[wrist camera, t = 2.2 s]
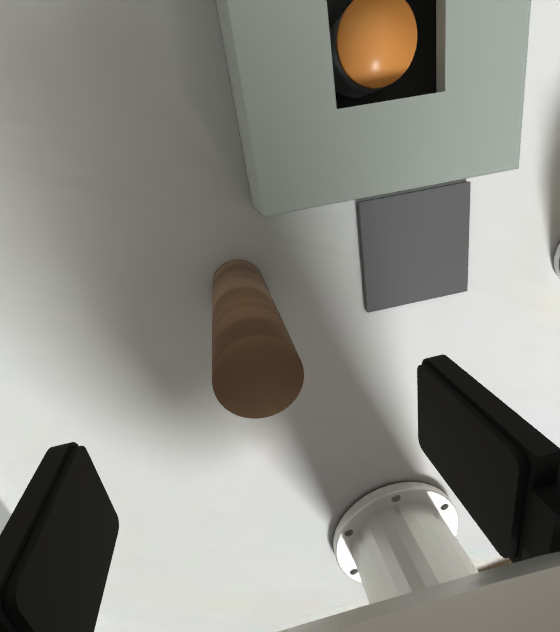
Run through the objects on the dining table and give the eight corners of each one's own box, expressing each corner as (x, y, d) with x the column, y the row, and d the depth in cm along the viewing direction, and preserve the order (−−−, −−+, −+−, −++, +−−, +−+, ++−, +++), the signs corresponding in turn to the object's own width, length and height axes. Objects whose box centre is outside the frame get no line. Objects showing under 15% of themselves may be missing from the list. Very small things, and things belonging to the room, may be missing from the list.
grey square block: (453, 168, 26) (518, 168, 20) (252, 205, 25) (264, 216, 19) (457, -104, 21) (546, -203, 15) (201, -74, 19) (197, -171, 14)
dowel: (267, 302, 27) (309, 406, 15) (218, 312, 27) (223, 427, 15) (258, 255, 26) (297, 328, 14) (207, 265, 26) (202, 349, 14)
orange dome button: (392, 92, 22) (418, 81, 19) (325, 102, 22) (342, 93, 19) (388, 8, 20) (416, -18, 18) (317, 18, 20) (333, -7, 17)
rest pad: (464, 289, 30) (467, 290, 29) (365, 310, 29) (367, 312, 28) (467, 181, 26) (470, 181, 26) (357, 202, 26) (359, 202, 25)
